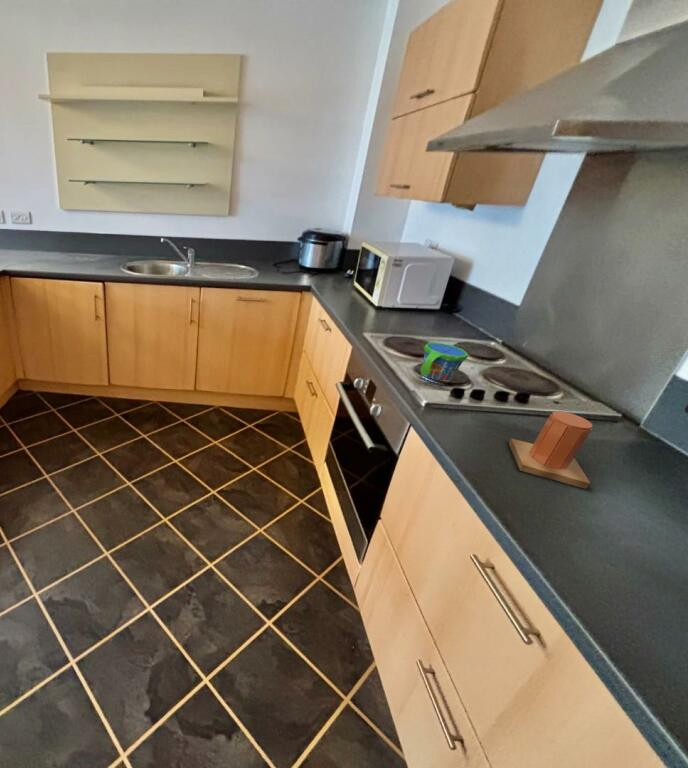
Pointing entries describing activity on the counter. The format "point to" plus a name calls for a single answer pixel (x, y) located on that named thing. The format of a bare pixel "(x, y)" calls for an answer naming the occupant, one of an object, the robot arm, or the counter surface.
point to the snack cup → (441, 361)
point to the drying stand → (530, 465)
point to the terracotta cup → (560, 439)
